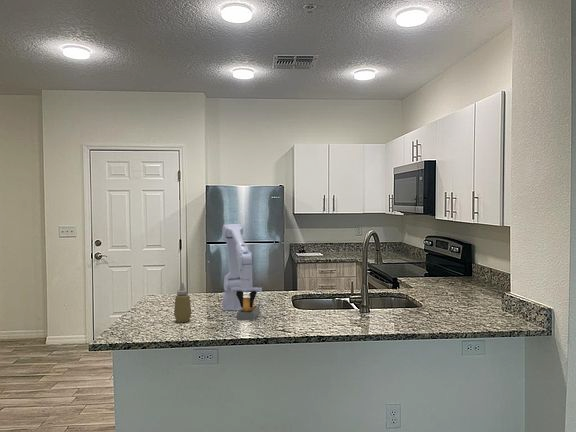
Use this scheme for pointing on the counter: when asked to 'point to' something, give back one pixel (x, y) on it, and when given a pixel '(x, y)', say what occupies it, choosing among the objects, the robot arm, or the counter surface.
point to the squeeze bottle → (182, 305)
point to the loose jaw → (246, 305)
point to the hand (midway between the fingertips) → (246, 307)
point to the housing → (248, 313)
